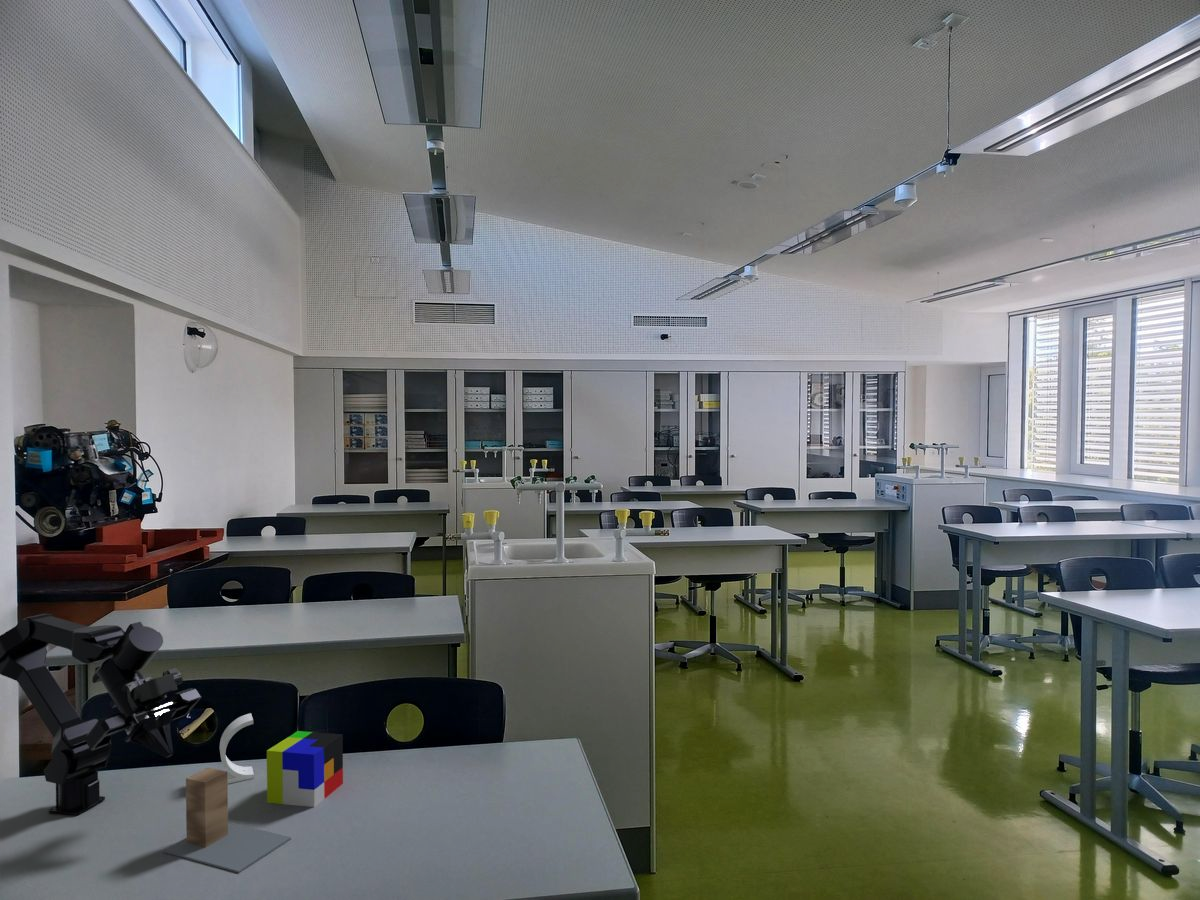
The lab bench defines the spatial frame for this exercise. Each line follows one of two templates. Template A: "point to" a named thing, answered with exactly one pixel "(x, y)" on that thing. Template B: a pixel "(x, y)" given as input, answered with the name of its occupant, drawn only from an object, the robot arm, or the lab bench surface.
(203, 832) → the walnut block
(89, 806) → the robot arm
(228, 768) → the headphone stand
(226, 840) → the slate mat
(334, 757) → the puzzle toy
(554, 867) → the lab bench surface
